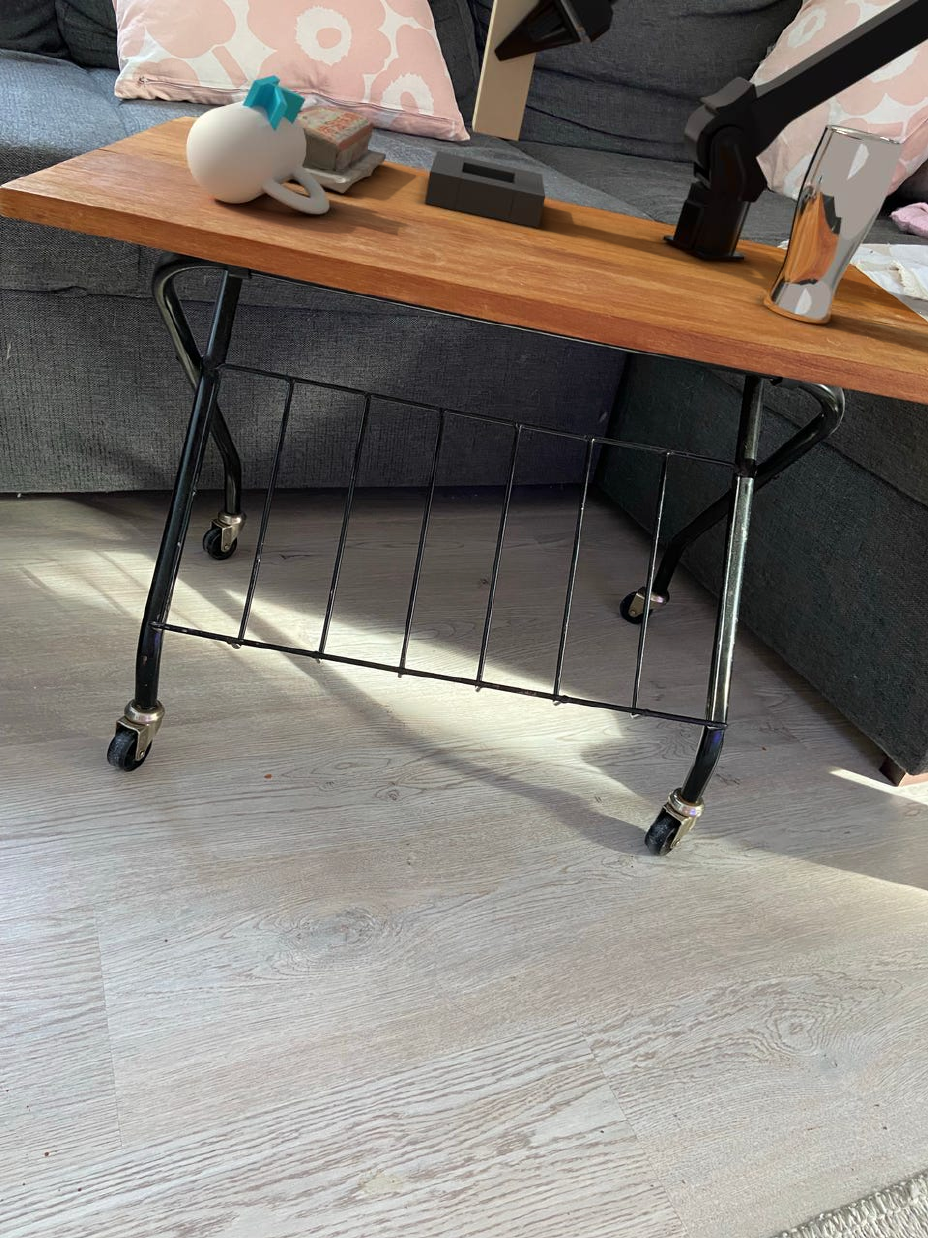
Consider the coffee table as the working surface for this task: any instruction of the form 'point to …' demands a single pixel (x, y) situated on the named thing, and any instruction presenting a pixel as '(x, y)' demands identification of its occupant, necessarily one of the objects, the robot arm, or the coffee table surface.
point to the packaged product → (338, 147)
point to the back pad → (503, 76)
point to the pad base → (486, 189)
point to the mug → (254, 149)
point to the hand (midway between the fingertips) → (495, 53)
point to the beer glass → (832, 219)
